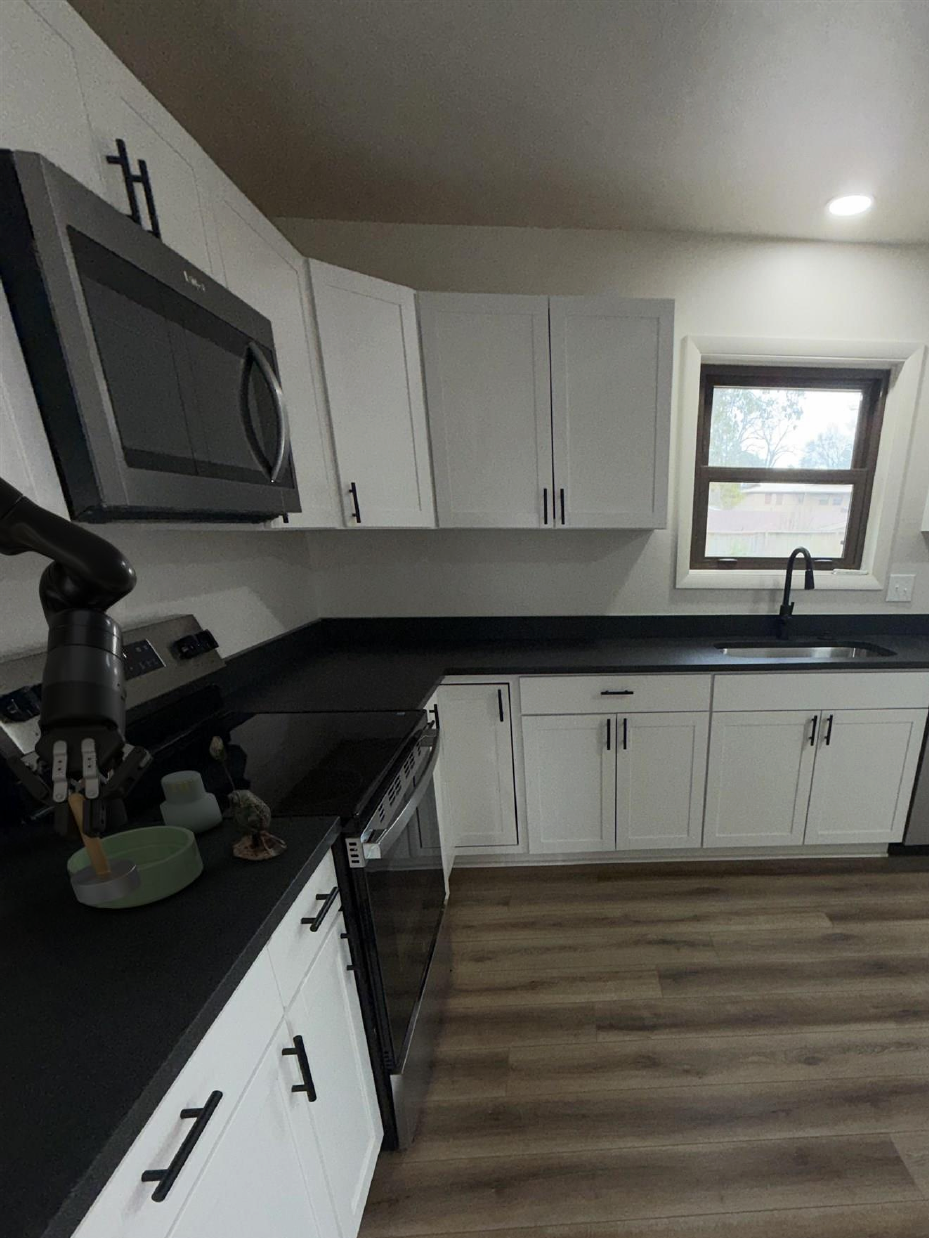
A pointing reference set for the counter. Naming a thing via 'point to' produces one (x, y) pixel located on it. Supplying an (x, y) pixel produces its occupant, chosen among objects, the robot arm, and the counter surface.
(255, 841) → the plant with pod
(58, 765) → the robot arm
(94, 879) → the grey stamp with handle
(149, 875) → the bowl
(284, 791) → the counter surface
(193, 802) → the air freshener
